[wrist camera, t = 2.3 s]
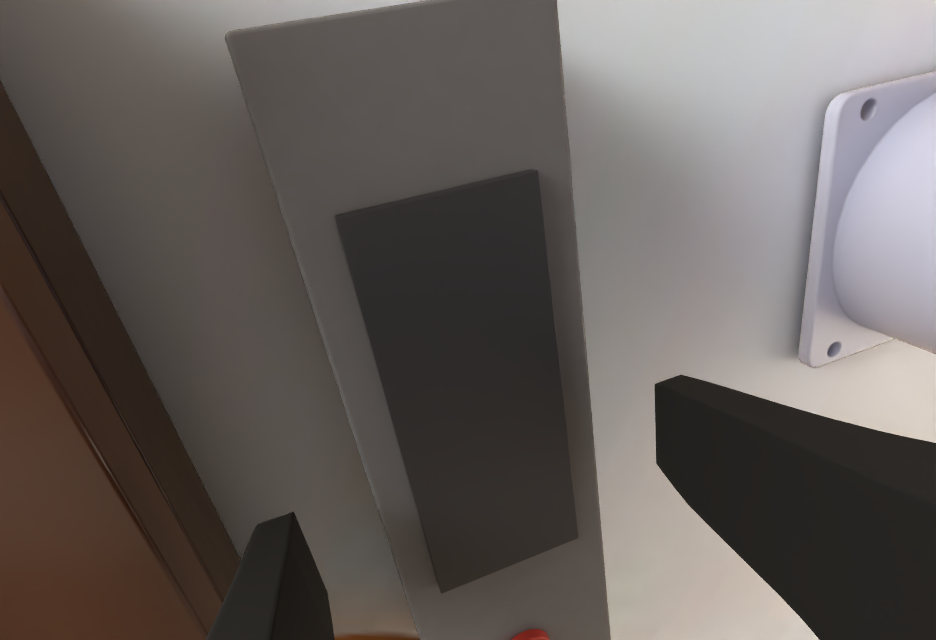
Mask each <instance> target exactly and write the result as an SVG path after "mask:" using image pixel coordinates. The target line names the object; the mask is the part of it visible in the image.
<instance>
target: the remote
mask: <svg viewBox="0 0 936 640" xmlns="http://www.w3.org/2000/svg"><path fill="white" fill-rule="evenodd" d="M225 41H226V44H227V47H228V50H229V53H230V56H231V59H232V62H233V65H234V68H235V71H236V75H237V78H238V81H239V84H240V87H241V90H242V93H243V96H244V99H245V102H246V105H247V108H248V111H249V115H250V118H251V121H252V124H253V127H254V130H255V133H256V136H257V139H258V142H259V145H260V148H261V151H262V155H263V158H264V161H265V164H266V167H267V170H268V173H269V176H270V179H271V182H272V185H273V188H274V192H275V195H276V198H277V201H278V204H279V207H280V210H281V213H282V216H283V219H284V222H285V225H286V228H287V232H288V235H289V238H290V241H291V244H292V247H293V250H294V253H295V256H296V259H297V262H298V265H299V268H300V272H301V275H302V278H303V281H304V284H305V287H306V290H307V293H308V296H309V299H310V302H311V305H312V309H313V312H314V315H315V318H316V321H317V324H318V327H319V330H320V333H321V336H322V339H323V342H324V345H325V349H326V352H327V355H328V358H329V361H330V364H331V367H332V370H333V373H334V376H335V379H336V382H337V385H338V389H339V392H340V395H341V398H342V401H343V404H344V407H345V410H346V413H347V416H348V419H349V422H350V426H351V429H352V432H353V435H354V438H355V441H356V444H357V447H358V450H359V453H360V456H361V459H362V462H363V466H364V469H365V472H366V475H367V478H368V481H369V484H370V487H371V490H372V493H373V496H374V499H375V502H376V506H377V509H378V512H379V515H380V518H381V521H382V524H383V527H384V530H385V533H386V536H387V539H388V543H389V546H390V549H391V552H392V555H393V558H394V561H395V564H396V567H397V570H398V573H399V576H400V579H401V583H402V586H403V589H404V592H405V595H406V598H407V601H408V604H409V607H410V610H411V613H412V616H413V619H414V623H415V626H416V629H417V632H418V635H419V638H420V640H611V638H610V626H609V614H608V603H607V591H606V579H605V567H604V555H603V543H602V531H601V520H600V508H599V496H598V484H597V472H596V460H595V448H594V437H593V425H592V413H591V401H590V389H589V377H588V366H587V354H586V342H585V330H584V318H583V306H582V294H581V283H580V271H579V259H578V247H577V235H576V223H575V212H574V200H573V188H572V176H571V164H570V152H569V140H568V129H567V117H566V105H565V93H564V81H563V69H562V58H561V46H560V34H559V22H558V10H557V0H427V1H420V2H414V3H407V4H401V5H394V6H388V7H381V8H375V9H368V10H362V11H355V12H349V13H342V14H336V15H329V16H323V17H316V18H310V19H303V20H297V21H290V22H284V23H277V24H271V25H264V26H258V27H251V28H245V29H238V30H232V31H228V32H227V33H225Z"/></svg>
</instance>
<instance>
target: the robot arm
mask: <svg viewBox="0 0 936 640" xmlns="http://www.w3.org/2000/svg"><path fill="white" fill-rule="evenodd" d="M893 339H898V340H900V341H903V342H905V343H908V344H911V345H913V346H916V347H919V348H921V349H924V350H927V351H929V352H932V353H934V354H936V71H933V72H928V73H924V74H920V75H915V76H911V77H907V78H903V79H898V80H894V81H890V82H886V83H881V84H877V85H873V86H869V87H864V88H860V89H856V90H851V91H847V92H843V93H841V94H839V95H837V96H836V97H835V98H834V99H833V100H832V101H831V102H830V104H829V106H828V108H827V110H826V114H825V119H824V128H823V137H822V146H821V155H820V164H819V173H818V182H817V191H816V200H815V209H814V218H813V227H812V236H811V244H810V253H809V262H808V271H807V280H806V289H805V298H804V307H803V316H802V325H801V334H800V343H799V352H798V355H799V360H800V362H801V363H803V364H805V365H807V366H809V367H812V368H817V367H820V366H823V365H826V364H828V363H831V362H834V361H836V360H839V359H842V358H845V357H847V356H850V355H853V354H855V353H858V352H861V351H863V350H866V349H869V348H872V347H874V346H877V345H880V344H882V343H885V342H888V341H890V340H893ZM655 422H656V464H657V465H658V466H659V468H660V469H661V470H662V472H663V473H664V474H665V476H666V477H667V478H668V480H669V481H670V482H671V483H672V485H673V486H674V487H675V489H676V490H677V491H678V492H679V494H680V495H681V496H682V497H683V498H684V500H685V501H686V502H687V503H688V505H689V506H690V507H691V508H692V509H693V510H694V511H695V512H696V513H697V514H698V515H699V516H700V517H701V518H702V519H703V520H704V521H705V522H706V523H707V524H708V525H709V526H710V527H711V528H712V529H713V530H714V531H715V532H716V533H717V534H718V535H719V536H720V537H721V538H722V539H723V540H724V541H725V542H726V543H727V544H728V545H729V546H730V547H731V548H732V549H733V550H734V551H735V552H736V553H737V554H738V555H739V556H740V557H741V558H742V559H743V560H744V561H745V562H746V563H747V564H748V565H749V566H750V567H751V568H752V569H753V570H754V571H755V572H756V573H757V574H758V575H759V576H760V577H761V578H763V579H764V580H765V581H766V582H767V583H768V584H769V585H770V586H771V587H772V588H773V589H774V590H775V591H776V592H777V593H778V594H779V595H780V596H781V597H782V598H783V599H784V600H785V602H786V603H787V604H788V605H789V606H790V607H791V608H792V609H793V610H794V611H795V612H796V613H797V614H798V615H799V616H800V617H801V618H802V620H803V621H804V622H805V623H806V624H807V625H808V627H809V628H810V629H811V630H812V631H813V632H814V634H815V635H816V636H817V637H818V638H819V640H936V443H933V442H928V441H923V440H918V439H913V438H908V437H903V436H899V435H894V434H890V433H886V432H881V431H877V430H873V429H869V428H865V427H862V426H858V425H854V424H850V423H846V422H842V421H838V420H834V419H831V418H827V417H824V416H820V415H816V414H813V413H809V412H806V411H802V410H799V409H796V408H792V407H789V406H786V405H782V404H779V403H776V402H772V401H769V400H766V399H762V398H759V397H756V396H753V395H749V394H746V393H743V392H740V391H737V390H733V389H730V388H727V387H723V386H720V385H717V384H713V383H710V382H706V381H703V380H699V379H696V378H692V377H688V376H683V375H679V376H676V377H673V378H670V379H667V380H665V381H662V382H659V383H656V384H655ZM205 640H334V633H333V625H332V619H331V612H330V606H329V599H328V593H327V590H326V588H325V585H324V583H323V581H322V578H321V576H320V573H319V571H318V569H317V566H316V564H315V561H314V559H313V557H312V554H311V552H310V549H309V547H308V545H307V542H306V540H305V537H304V535H303V533H302V530H301V528H300V525H299V523H298V521H297V518H296V516H295V513H294V512H291V513H288V514H286V515H283V516H280V517H277V518H274V519H271V520H269V521H266V522H263V523H260V524H258V525H257V526H256V528H255V529H254V531H253V533H252V535H251V538H250V540H249V543H248V545H247V548H246V550H245V552H244V555H243V557H242V560H241V562H240V564H239V567H238V569H237V571H236V574H235V576H234V578H233V581H232V583H231V585H230V587H229V590H228V592H227V594H226V597H225V599H224V601H223V603H222V605H221V608H220V610H219V612H218V614H217V616H216V618H215V620H214V622H213V625H212V627H211V629H210V631H209V633H208V635H207V637H206V639H205Z"/></svg>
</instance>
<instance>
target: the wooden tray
mask: <svg viewBox="0 0 936 640" xmlns="http://www.w3.org/2000/svg"><path fill="white" fill-rule="evenodd" d="M240 562H241V560H240V558H239V556H238V554H237V552H236V550H235V548H234V546H233V544H232V542H231V540H230V538H229V536H228V534H227V532H226V530H225V528H224V526H223V524H222V522H221V520H220V518H219V516H218V514H217V512H216V510H215V508H214V506H213V504H212V502H211V500H210V498H209V496H208V494H207V492H206V490H205V488H204V486H203V484H202V482H201V480H200V478H199V476H198V474H197V472H196V470H195V468H194V466H193V464H192V462H191V460H190V458H189V456H188V454H187V452H186V450H185V448H184V446H183V444H182V442H181V440H180V438H179V436H178V434H177V432H176V430H175V428H174V426H173V424H172V422H171V420H170V418H169V416H168V414H167V412H166V410H165V408H164V406H163V404H162V402H161V400H160V398H159V396H158V395H157V393H156V391H155V389H154V387H153V385H152V383H151V381H150V379H149V377H148V375H147V373H146V371H145V369H144V367H143V365H142V363H141V361H140V359H139V357H138V355H137V353H136V351H135V349H134V347H133V345H132V343H131V341H130V339H129V337H128V335H127V333H126V331H125V329H124V327H123V325H122V323H121V321H120V319H119V317H118V315H117V313H116V311H115V309H114V307H113V305H112V303H111V301H110V299H109V297H108V295H107V293H106V291H105V289H104V287H103V285H102V283H101V281H100V279H99V277H98V275H97V273H96V271H95V269H94V267H93V265H92V263H91V261H90V259H89V257H88V255H87V253H86V251H85V249H84V247H83V245H82V243H81V241H80V239H79V237H78V235H77V233H76V231H75V229H74V227H73V225H72V223H71V221H70V219H69V217H68V215H67V213H66V211H65V209H64V207H63V205H62V203H61V201H60V199H59V197H58V195H57V193H56V191H55V189H54V187H53V185H52V183H51V181H50V179H49V177H48V175H47V173H46V171H45V169H44V167H43V165H42V163H41V161H40V159H39V157H38V155H37V153H36V151H35V149H34V147H33V145H32V143H31V141H30V139H29V137H28V135H27V133H26V131H25V129H24V127H23V125H22V123H21V121H20V119H19V117H18V115H17V113H16V111H15V109H14V107H13V105H12V103H11V101H10V99H9V97H8V95H7V93H6V91H5V89H4V87H3V85H2V83H1V81H0V640H205V639H206V637H207V635H208V633H209V631H210V629H211V627H212V625H213V622H214V620H215V618H216V616H217V614H218V612H219V610H220V608H221V605H222V603H223V601H224V599H225V597H226V594H227V592H228V590H229V587H230V585H231V583H232V581H233V578H234V576H235V574H236V571H237V569H238V567H239V564H240Z"/></svg>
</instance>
